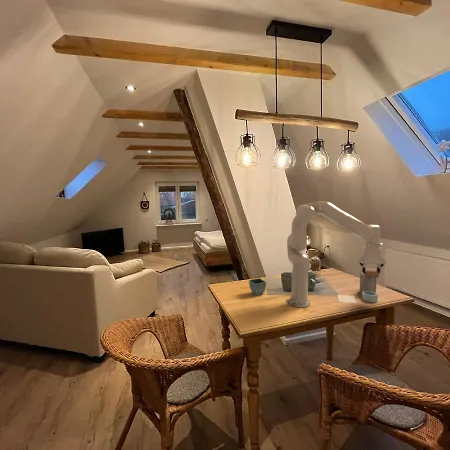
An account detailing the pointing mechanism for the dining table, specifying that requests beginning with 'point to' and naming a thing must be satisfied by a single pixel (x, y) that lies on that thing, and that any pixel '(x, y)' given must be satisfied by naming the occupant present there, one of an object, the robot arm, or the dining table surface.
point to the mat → (346, 299)
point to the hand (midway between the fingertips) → (370, 273)
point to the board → (371, 273)
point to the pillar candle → (367, 283)
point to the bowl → (369, 296)
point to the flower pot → (257, 286)
